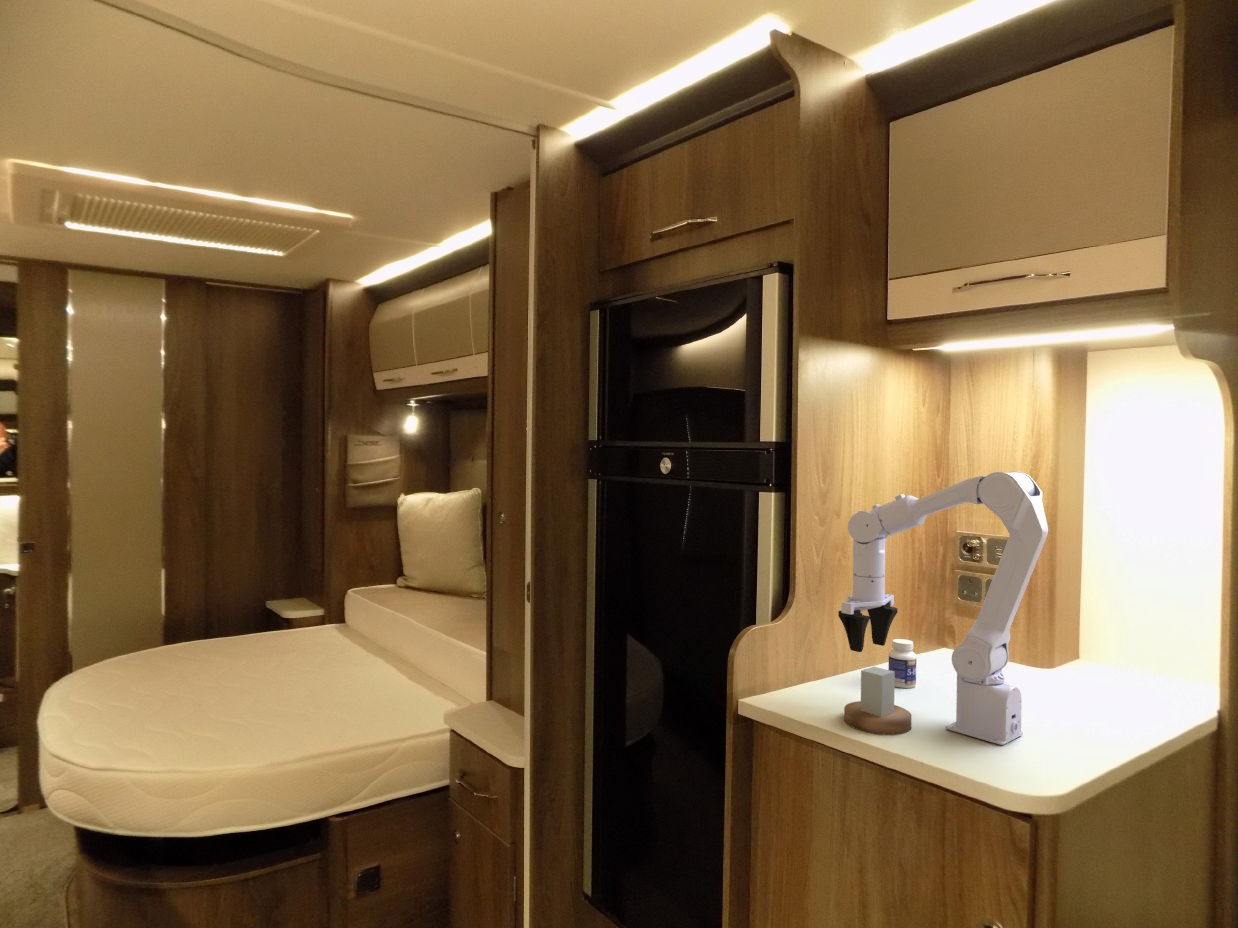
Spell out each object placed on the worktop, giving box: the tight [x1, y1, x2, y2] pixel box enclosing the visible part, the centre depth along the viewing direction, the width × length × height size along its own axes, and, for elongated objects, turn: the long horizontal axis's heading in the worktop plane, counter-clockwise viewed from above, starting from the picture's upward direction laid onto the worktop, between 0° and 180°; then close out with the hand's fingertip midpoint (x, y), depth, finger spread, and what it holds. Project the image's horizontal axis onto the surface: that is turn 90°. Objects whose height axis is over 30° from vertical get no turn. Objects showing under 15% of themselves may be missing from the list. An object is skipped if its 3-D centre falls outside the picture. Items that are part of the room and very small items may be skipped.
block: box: [860, 666, 895, 717], centre depth 131 cm, size 4×4×7 cm
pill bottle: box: [887, 638, 917, 689], centre depth 154 cm, size 5×5×9 cm
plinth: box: [843, 700, 913, 736], centre depth 131 cm, size 11×11×2 cm
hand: (867, 647), depth 142 cm, fingers open, 7 cm apart
